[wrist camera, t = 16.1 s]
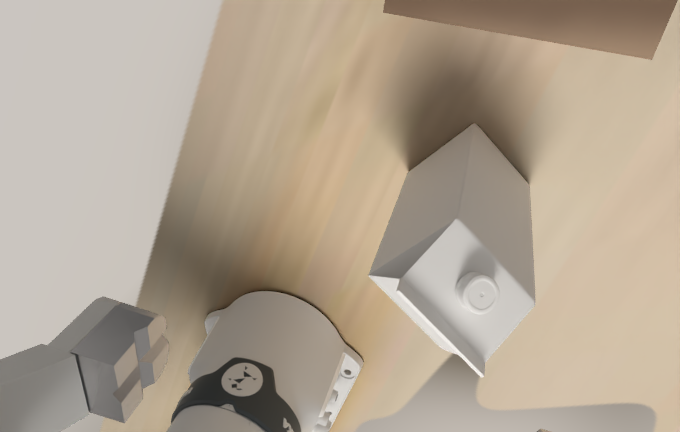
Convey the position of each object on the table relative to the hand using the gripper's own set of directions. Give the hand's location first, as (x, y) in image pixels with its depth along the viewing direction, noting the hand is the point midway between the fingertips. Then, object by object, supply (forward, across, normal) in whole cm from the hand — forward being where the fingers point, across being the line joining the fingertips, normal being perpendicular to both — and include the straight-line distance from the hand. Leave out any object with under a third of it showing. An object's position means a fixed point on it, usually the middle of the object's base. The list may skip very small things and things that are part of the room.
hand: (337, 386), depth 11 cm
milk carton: (+33, +3, -11) cm, 35 cm away
